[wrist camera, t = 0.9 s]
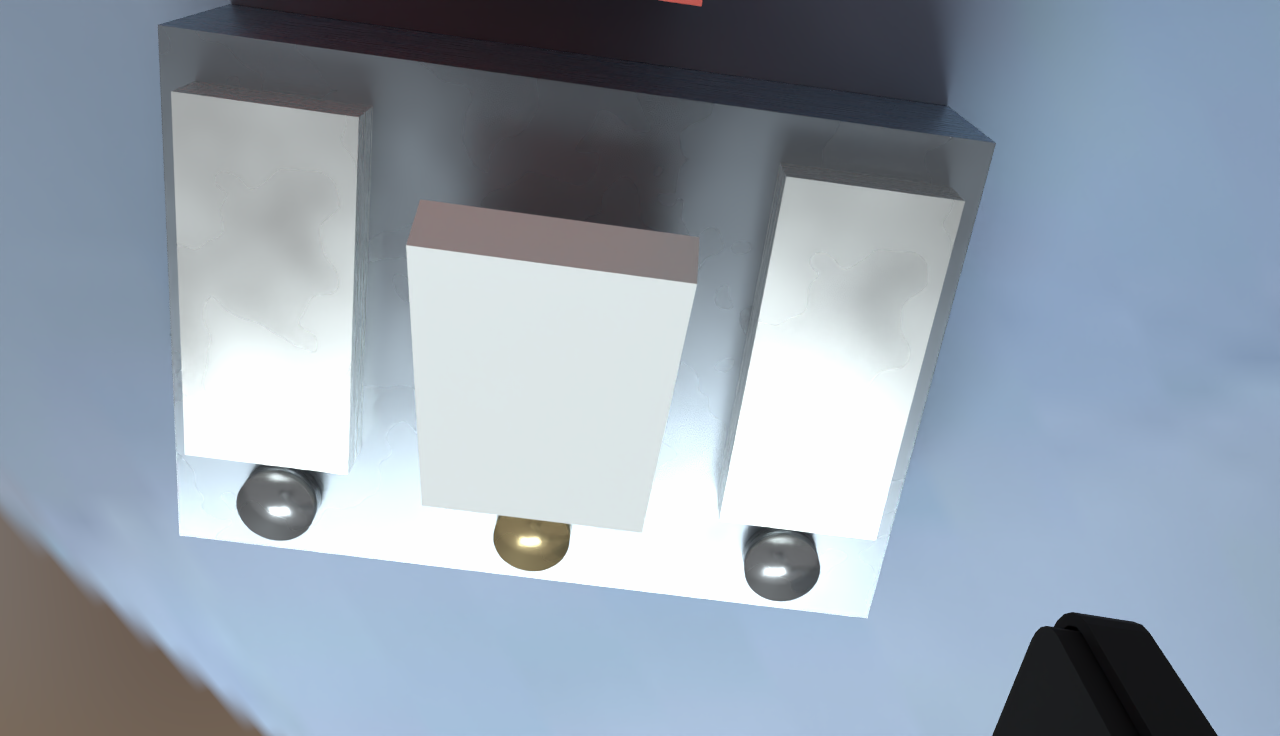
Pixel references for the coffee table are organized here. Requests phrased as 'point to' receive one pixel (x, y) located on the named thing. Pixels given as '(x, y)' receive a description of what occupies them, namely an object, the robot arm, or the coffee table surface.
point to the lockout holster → (686, 2)
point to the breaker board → (569, 189)
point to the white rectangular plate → (544, 361)
